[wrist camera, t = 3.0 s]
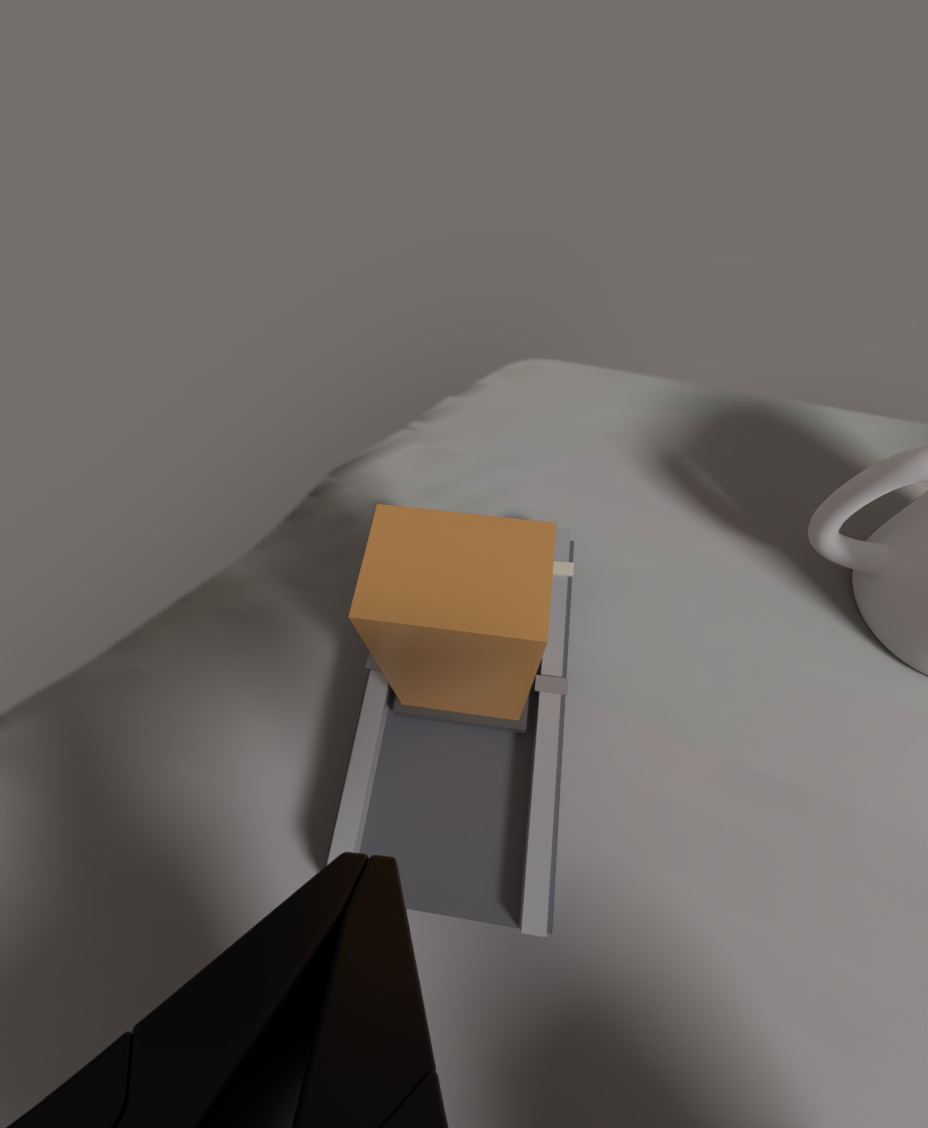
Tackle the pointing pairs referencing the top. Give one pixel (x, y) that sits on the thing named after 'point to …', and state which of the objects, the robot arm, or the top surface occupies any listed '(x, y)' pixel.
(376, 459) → the top surface
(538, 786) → the rail
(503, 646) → the fader tab
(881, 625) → the cup
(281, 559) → the top surface
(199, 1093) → the robot arm
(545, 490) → the top surface
